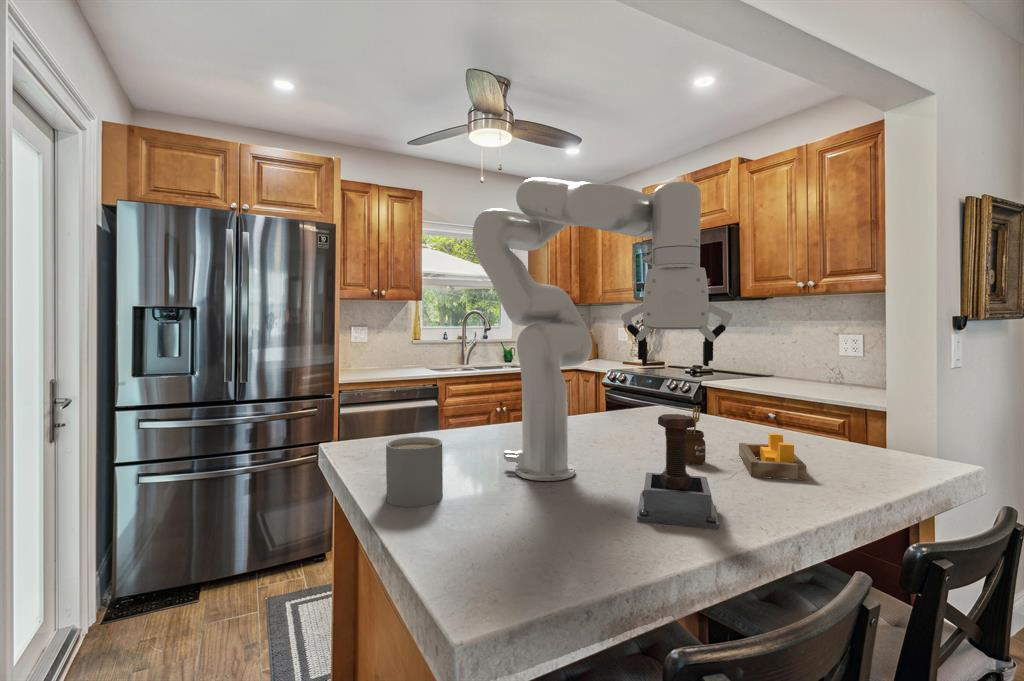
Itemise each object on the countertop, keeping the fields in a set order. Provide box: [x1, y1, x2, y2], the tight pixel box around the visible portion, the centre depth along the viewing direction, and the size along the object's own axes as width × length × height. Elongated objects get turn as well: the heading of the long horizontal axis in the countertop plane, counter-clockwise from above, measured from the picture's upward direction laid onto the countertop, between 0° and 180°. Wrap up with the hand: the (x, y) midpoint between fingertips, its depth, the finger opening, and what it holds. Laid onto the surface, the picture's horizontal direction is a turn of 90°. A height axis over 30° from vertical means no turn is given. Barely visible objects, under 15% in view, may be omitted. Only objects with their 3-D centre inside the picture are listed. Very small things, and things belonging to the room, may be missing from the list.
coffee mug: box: [385, 436, 444, 508], centre depth 93 cm, size 13×10×10 cm
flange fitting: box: [636, 466, 720, 530], centre depth 87 cm, size 12×18×5 cm, turn 163°
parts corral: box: [738, 442, 807, 481], centre depth 110 cm, size 10×18×3 cm, turn 163°
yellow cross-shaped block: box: [759, 432, 795, 463], centre depth 110 cm, size 12×4×6 cm, turn 163°
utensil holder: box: [685, 406, 707, 466], centre depth 115 cm, size 6×6×12 cm
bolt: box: [657, 413, 695, 491], centre depth 83 cm, size 6×5×15 cm
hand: (674, 364), depth 83 cm, fingers open, 9 cm apart
